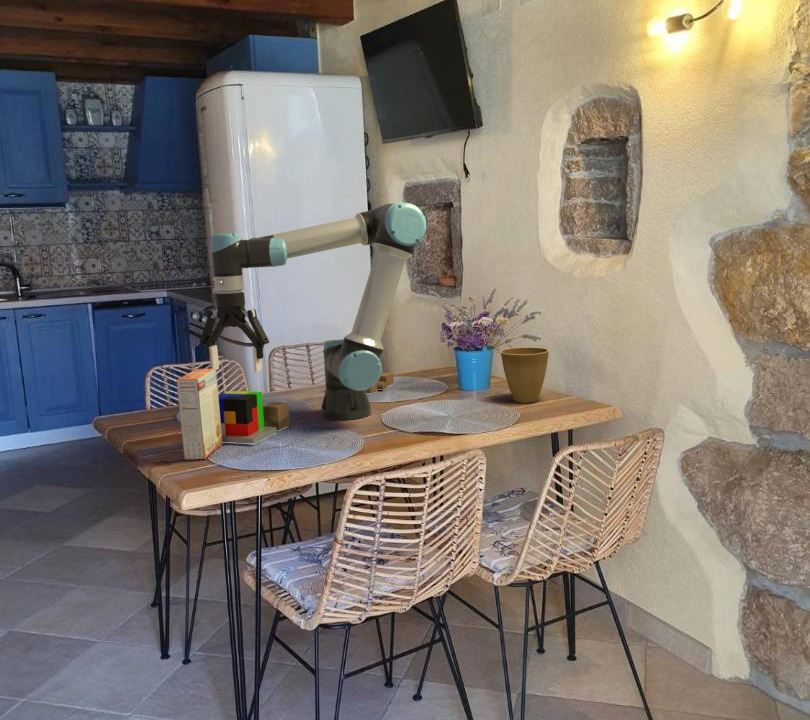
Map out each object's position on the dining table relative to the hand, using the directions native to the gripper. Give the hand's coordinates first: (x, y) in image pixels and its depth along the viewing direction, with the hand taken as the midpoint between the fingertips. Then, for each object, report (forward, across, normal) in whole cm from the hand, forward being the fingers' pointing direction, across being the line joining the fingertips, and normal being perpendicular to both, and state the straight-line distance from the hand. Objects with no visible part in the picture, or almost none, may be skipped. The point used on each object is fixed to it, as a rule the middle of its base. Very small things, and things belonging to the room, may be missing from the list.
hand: (236, 370), depth 220 cm
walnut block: (+19, +4, +12) cm, 23 cm away
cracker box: (+19, -2, -15) cm, 24 cm away
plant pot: (+20, +65, +62) cm, 92 cm away
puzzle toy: (+17, 0, 0) cm, 17 cm away
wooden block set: (+20, +6, +67) cm, 71 cm away
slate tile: (+19, 0, 0) cm, 19 cm away
